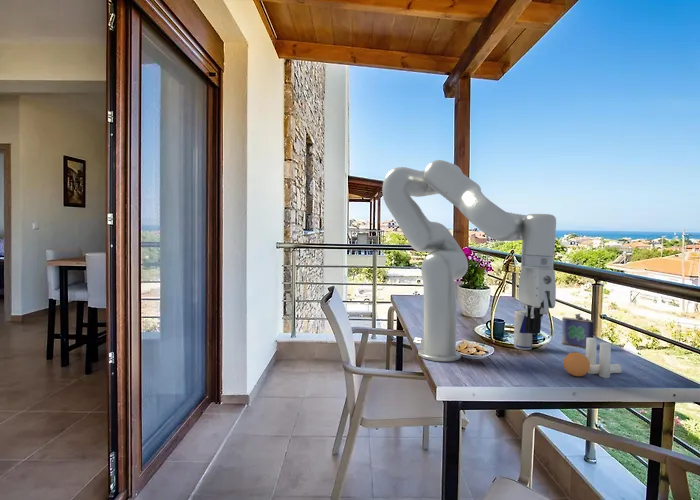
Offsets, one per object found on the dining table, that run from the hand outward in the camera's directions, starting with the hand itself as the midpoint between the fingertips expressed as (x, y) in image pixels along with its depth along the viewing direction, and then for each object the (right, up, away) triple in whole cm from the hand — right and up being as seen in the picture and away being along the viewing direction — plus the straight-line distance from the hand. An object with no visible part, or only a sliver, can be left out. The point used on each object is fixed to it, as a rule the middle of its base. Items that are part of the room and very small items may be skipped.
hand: (532, 332), depth 104 cm
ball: (+11, -8, 0) cm, 14 cm away
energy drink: (+8, -10, +25) cm, 29 cm away
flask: (+27, -10, +28) cm, 40 cm away
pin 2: (+18, -11, -1) cm, 21 cm away
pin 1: (+18, -11, +4) cm, 21 cm away
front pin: (+15, -10, +1) cm, 18 cm away
